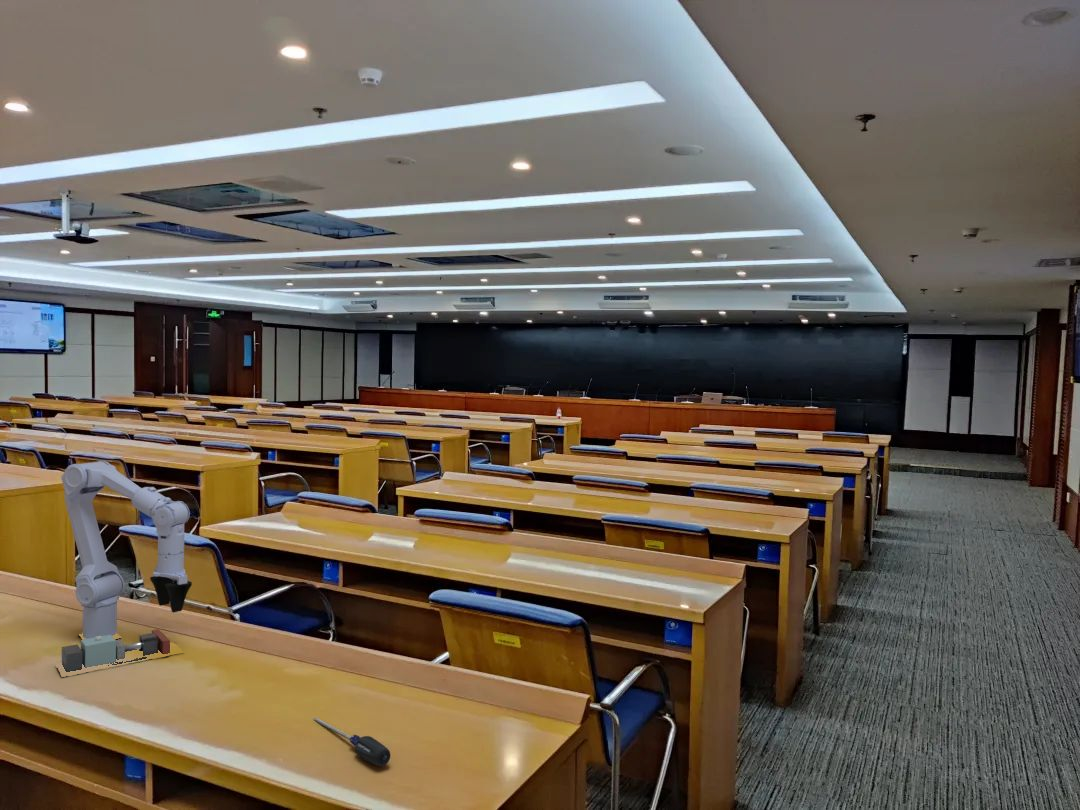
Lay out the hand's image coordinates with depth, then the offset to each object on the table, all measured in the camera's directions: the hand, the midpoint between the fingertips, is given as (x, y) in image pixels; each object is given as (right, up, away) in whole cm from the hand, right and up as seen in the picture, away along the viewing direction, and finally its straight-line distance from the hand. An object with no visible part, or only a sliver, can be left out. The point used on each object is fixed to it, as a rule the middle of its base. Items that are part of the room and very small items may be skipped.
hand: (170, 608), depth 182 cm
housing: (-10, -9, -12) cm, 18 cm away
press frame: (-7, -10, -10) cm, 16 cm away
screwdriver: (+55, -12, -46) cm, 73 cm away
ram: (-4, -8, -7) cm, 11 cm away
